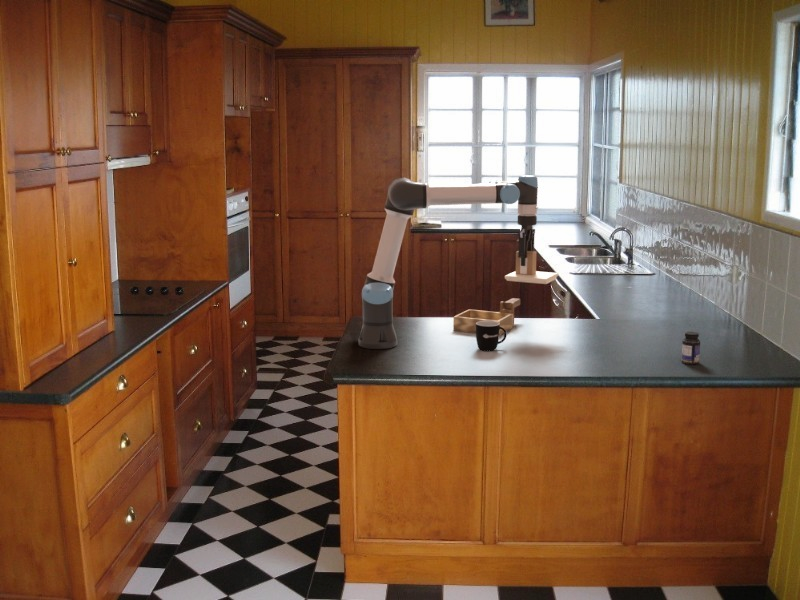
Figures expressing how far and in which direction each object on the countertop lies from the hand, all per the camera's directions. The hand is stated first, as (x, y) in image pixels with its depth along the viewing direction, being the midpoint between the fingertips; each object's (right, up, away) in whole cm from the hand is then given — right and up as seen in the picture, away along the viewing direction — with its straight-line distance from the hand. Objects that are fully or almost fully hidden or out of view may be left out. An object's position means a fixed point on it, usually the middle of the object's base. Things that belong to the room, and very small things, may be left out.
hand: (525, 272), depth 356 cm
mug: (-16, -30, -18) cm, 39 cm away
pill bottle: (+54, -34, -38) cm, 74 cm away
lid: (+2, -2, -1) cm, 3 cm away
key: (-2, -14, +23) cm, 26 cm away
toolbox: (-15, -23, +14) cm, 31 cm away
